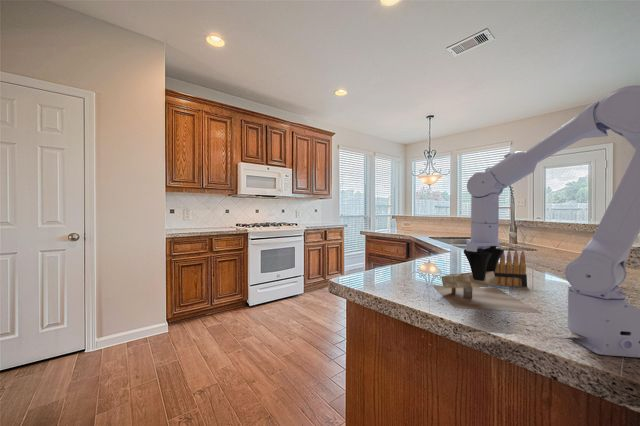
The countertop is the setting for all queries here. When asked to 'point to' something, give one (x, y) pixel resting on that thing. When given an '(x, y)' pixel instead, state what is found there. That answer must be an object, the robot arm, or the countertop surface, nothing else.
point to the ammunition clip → (511, 270)
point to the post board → (483, 299)
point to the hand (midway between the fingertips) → (483, 278)
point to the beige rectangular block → (467, 280)
